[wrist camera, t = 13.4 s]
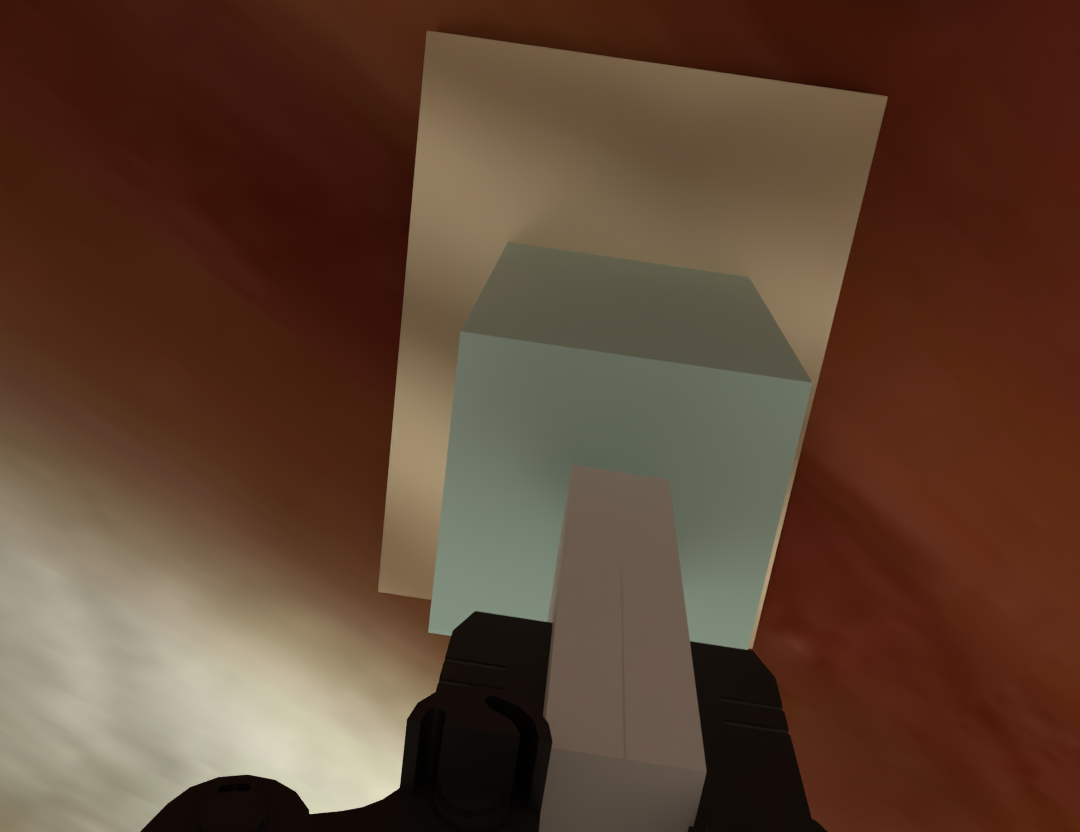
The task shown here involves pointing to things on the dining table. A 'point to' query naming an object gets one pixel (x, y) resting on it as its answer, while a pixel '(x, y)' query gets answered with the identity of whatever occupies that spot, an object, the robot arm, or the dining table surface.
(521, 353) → the grey-green block
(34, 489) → the dining table surface
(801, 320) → the stand
